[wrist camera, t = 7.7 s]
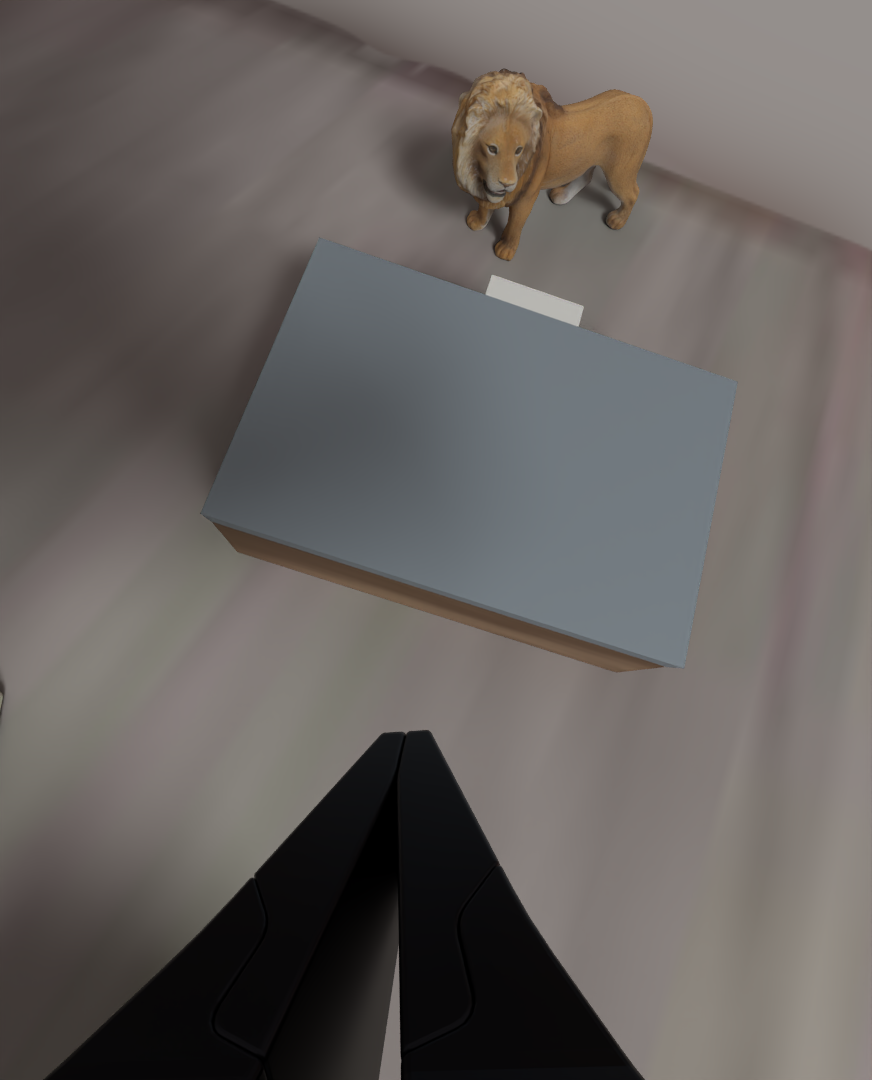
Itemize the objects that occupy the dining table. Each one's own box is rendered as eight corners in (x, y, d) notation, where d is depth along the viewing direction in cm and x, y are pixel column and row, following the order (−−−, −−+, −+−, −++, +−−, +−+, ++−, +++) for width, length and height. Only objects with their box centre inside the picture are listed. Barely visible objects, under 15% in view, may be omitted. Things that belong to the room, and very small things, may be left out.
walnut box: (616, 672, 23) (664, 666, 19) (237, 551, 22) (212, 522, 19) (652, 451, 27) (698, 412, 23) (331, 342, 26) (325, 285, 23)
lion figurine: (463, 302, 28) (506, 133, 20) (412, 236, 29) (432, 47, 21) (648, 219, 33) (748, 49, 24) (597, 163, 33) (677, -19, 25)
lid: (665, 666, 19) (684, 668, 18) (211, 521, 19) (200, 513, 17) (722, 375, 22) (741, 360, 21) (330, 240, 22) (327, 217, 20)
